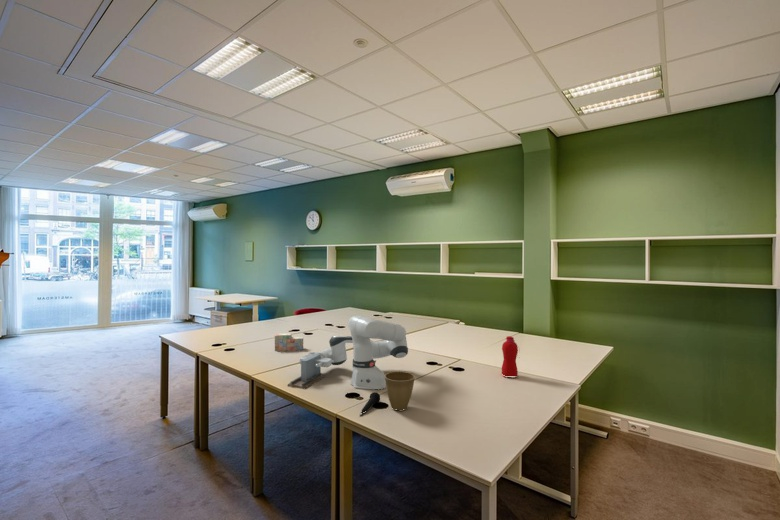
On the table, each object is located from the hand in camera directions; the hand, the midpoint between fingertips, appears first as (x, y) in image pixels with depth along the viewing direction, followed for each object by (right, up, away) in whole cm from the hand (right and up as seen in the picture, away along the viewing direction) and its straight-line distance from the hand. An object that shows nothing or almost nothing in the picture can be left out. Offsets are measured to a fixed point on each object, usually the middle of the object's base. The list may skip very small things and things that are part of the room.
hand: (309, 365), depth 219 cm
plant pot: (+53, -10, -38) cm, 66 cm away
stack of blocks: (-31, -8, +69) cm, 76 cm away
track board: (-1, -9, -2) cm, 9 cm away
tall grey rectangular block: (+1, -8, +3) cm, 9 cm away
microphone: (+38, -11, -38) cm, 54 cm away
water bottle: (+125, -10, +11) cm, 126 cm away
